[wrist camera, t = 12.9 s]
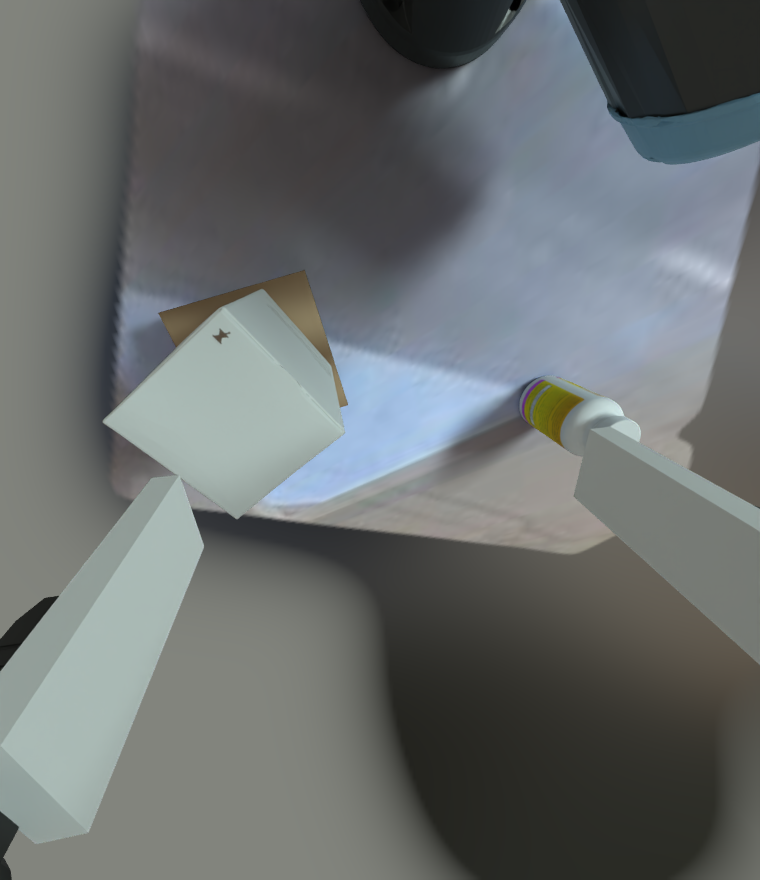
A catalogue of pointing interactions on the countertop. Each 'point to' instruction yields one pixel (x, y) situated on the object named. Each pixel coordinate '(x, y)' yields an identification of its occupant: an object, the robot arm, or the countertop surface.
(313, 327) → the walnut box
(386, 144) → the countertop surface
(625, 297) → the countertop surface
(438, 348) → the countertop surface
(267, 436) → the supplement box
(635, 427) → the supplement bottle
